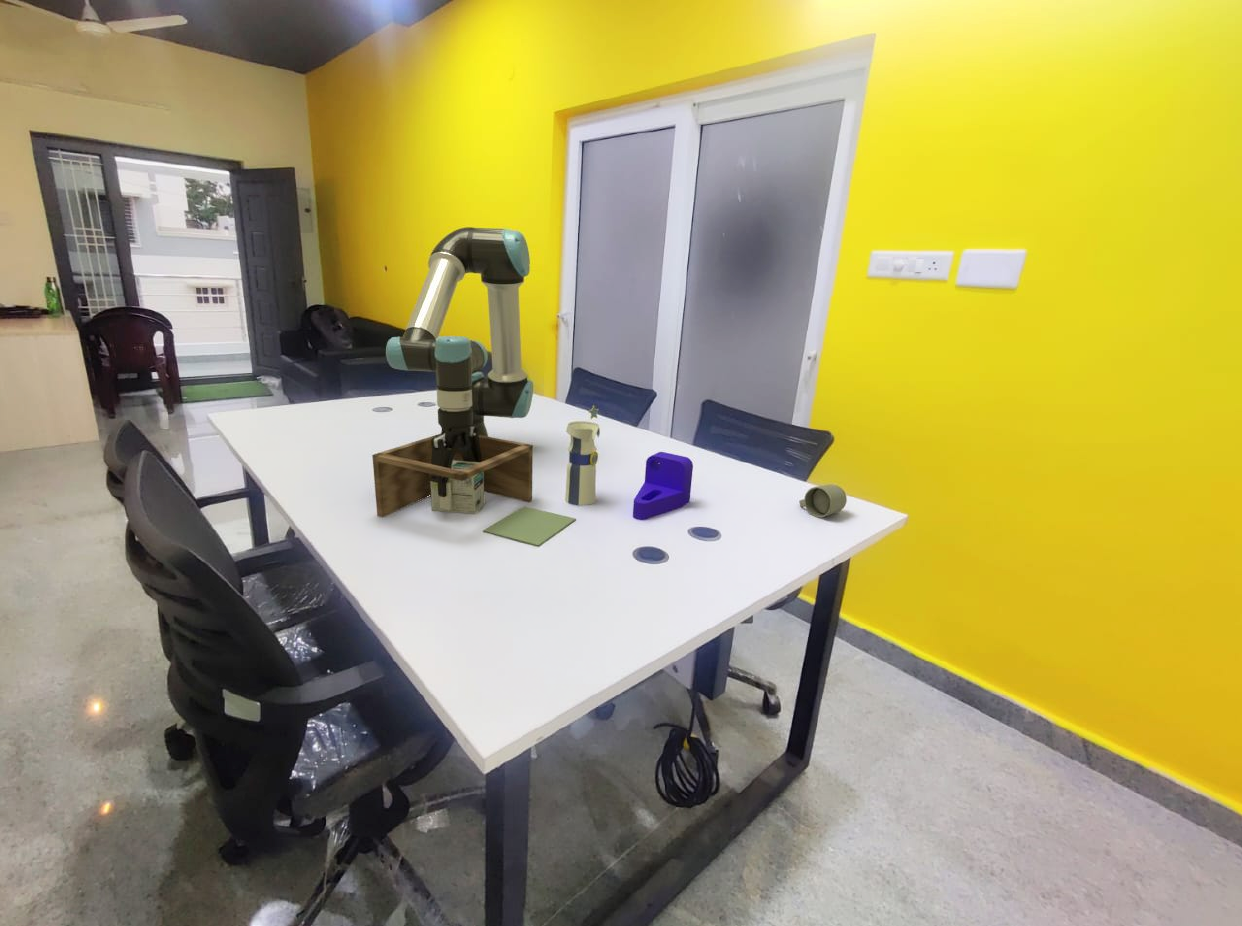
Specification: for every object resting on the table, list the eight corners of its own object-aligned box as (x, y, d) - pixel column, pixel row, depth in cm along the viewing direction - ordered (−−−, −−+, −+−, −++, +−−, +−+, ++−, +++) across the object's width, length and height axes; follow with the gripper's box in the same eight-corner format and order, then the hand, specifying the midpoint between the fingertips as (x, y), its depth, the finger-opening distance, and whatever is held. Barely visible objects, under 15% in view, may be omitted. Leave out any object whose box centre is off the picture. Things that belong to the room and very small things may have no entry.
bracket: (651, 492, 153) (654, 450, 149) (689, 502, 148) (693, 458, 144) (616, 514, 138) (619, 467, 134) (657, 525, 133) (661, 477, 129)
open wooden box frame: (454, 482, 152) (452, 429, 147) (532, 500, 143) (532, 445, 138) (377, 515, 129) (372, 454, 125) (463, 539, 120) (461, 475, 116)
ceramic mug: (846, 515, 145) (851, 486, 143) (828, 522, 140) (833, 492, 138) (809, 502, 153) (813, 474, 151) (791, 508, 148) (795, 480, 146)
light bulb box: (485, 504, 139) (484, 461, 135) (475, 515, 132) (474, 470, 129) (442, 500, 140) (440, 457, 136) (430, 511, 133) (428, 466, 130)
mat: (524, 507, 138) (524, 506, 138) (575, 520, 133) (575, 518, 133) (482, 532, 124) (482, 530, 124) (538, 547, 119) (538, 545, 119)
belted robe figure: (603, 497, 147) (608, 401, 140) (587, 508, 140) (591, 407, 132) (575, 491, 150) (578, 396, 143) (558, 501, 143) (560, 402, 135)
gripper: (436, 419, 118) (440, 521, 125) (497, 402, 136) (498, 492, 143) (407, 413, 121) (413, 514, 128) (471, 397, 139) (473, 486, 146)
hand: (458, 502), depth 136 cm, fingers closed on light bulb box, 8 cm apart
